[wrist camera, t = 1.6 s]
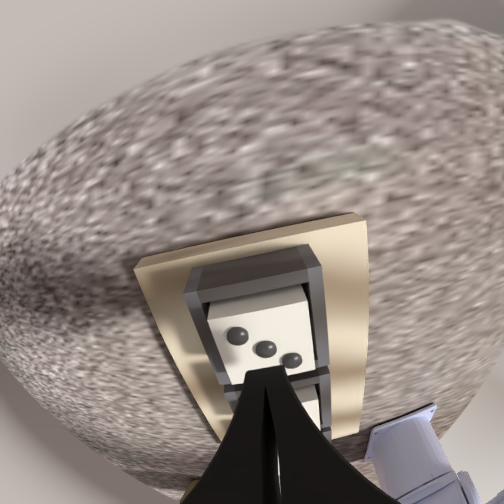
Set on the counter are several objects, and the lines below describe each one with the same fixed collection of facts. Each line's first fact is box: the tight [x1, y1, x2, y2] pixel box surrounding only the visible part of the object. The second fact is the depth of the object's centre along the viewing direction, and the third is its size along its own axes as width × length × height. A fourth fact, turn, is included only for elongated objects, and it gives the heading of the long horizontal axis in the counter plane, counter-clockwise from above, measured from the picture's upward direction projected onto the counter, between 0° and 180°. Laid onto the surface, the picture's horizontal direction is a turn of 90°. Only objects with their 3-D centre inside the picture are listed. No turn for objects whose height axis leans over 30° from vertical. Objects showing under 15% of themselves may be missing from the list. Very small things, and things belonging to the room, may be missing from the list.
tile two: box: [294, 384, 320, 430], centre depth 15 cm, size 4×4×2 cm
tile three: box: [207, 283, 315, 385], centre depth 12 cm, size 4×4×2 cm
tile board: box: [133, 213, 369, 444], centre depth 17 cm, size 20×12×4 cm, turn 12°
